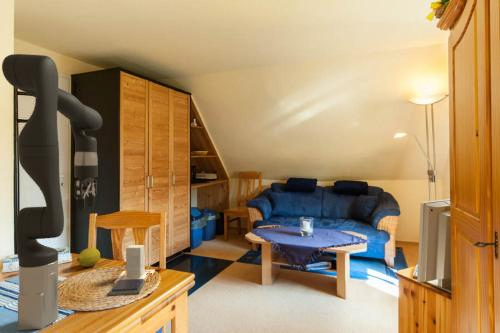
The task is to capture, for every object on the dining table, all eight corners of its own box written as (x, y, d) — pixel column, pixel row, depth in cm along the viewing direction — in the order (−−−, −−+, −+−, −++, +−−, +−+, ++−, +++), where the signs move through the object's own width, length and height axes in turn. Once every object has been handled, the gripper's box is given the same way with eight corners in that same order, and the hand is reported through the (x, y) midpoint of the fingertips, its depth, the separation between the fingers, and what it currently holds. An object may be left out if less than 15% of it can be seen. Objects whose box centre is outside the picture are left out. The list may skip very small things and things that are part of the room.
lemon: (94, 261, 136) (94, 244, 136) (105, 264, 132) (105, 246, 132) (71, 268, 127) (70, 250, 126) (81, 271, 123) (81, 253, 123)
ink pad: (139, 293, 102) (139, 288, 102) (109, 295, 101) (109, 290, 101) (145, 282, 112) (145, 277, 112) (117, 283, 111) (117, 279, 111)
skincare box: (145, 273, 120) (144, 244, 120) (140, 277, 116) (140, 247, 116) (130, 273, 120) (130, 244, 120) (125, 277, 116) (125, 247, 116)
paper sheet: (149, 281, 113) (149, 280, 113) (114, 283, 111) (114, 282, 111) (154, 270, 125) (154, 269, 125) (123, 271, 123) (123, 270, 123)
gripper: (88, 164, 102) (88, 210, 102) (103, 164, 116) (103, 205, 116) (66, 164, 101) (65, 210, 101) (83, 164, 115) (83, 205, 115)
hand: (86, 207), depth 109 cm, fingers open, 8 cm apart
